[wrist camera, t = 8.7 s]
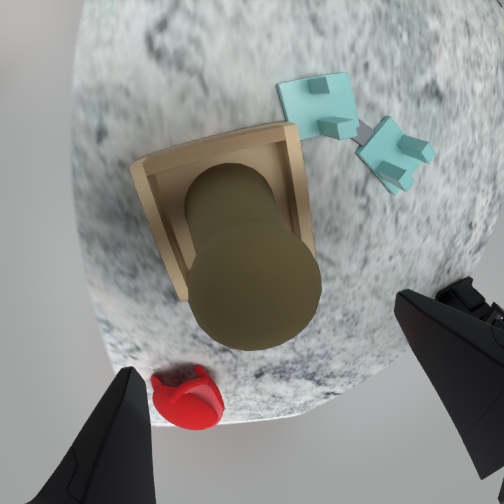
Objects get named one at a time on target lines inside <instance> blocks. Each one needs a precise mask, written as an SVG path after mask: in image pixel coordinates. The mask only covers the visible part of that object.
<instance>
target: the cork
mask: <svg viewBox="0 0 504 504" xmlns="http://www.w3.org/2000/svg"><path fill="white" fill-rule="evenodd" d="M185 216H186V220H187V224H188V227H189V231H190V235H191V238H192V242H193V246H194V249H195V253H196V257H195V259H194V261H193V264H192V267H191V269H190V272H189V275H188V302H189V305H190V307H191V310H192V312H193V314H194V317H195V319H196V321H197V323H198V325H199V326H200V327H201V328H202V329H203V330H204V331H205V332H206V333H207V334H208V335H209V336H210V337H211V338H213V339H214V340H215V341H216V342H218V343H220V344H223V345H225V346H227V347H229V348H232V349H238V350H244V351H254V350H265V349H268V348H272V347H275V346H279V345H281V344H283V343H285V342H286V341H288V340H290V339H292V338H294V337H295V336H296V335H298V334H299V333H300V332H301V331H302V330H303V329H304V328H305V327H307V325H308V324H309V322H310V321H311V319H312V318H313V316H314V315H315V313H316V310H317V306H318V303H319V299H320V296H321V292H322V286H321V275H320V270H319V266H318V264H317V262H316V260H315V258H314V256H313V254H312V253H311V251H310V249H309V248H308V247H307V245H306V244H305V243H304V242H303V241H302V240H301V239H299V238H298V237H297V236H296V235H294V234H293V233H292V232H291V231H289V230H287V229H285V228H284V225H283V222H282V219H281V216H280V213H279V210H278V207H277V204H276V201H275V198H274V195H273V192H272V189H271V187H270V186H269V184H268V182H267V181H266V179H265V177H264V176H262V175H261V174H260V173H259V172H258V171H256V170H255V169H254V168H251V167H249V166H246V165H244V164H241V163H222V164H219V165H215V166H211V167H210V168H208V169H207V170H205V171H204V172H202V173H201V174H199V175H198V176H197V177H196V179H195V180H194V181H193V182H192V184H191V185H190V186H189V189H188V192H187V194H186V197H185Z"/></svg>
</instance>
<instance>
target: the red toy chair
mask: <svg viewBox="0 0 504 504" xmlns="http://www.w3.org/2000/svg"><path fill="white" fill-rule="evenodd" d="M194 370H195V372H196V373H197V375H198V376H199V377H200V378H198V379H193V380H189V381H186V382H184V383H183V384H181V385H180V386H179V387H173V386H166V385H163V384H162V383H161V382H160V381H159V379H158V378H157V377H155V376H154V375H153V376H152V377H151V382H152V386H153V389H154V392H153V397H152V398H153V403H154V406H155V408H156V409H157V411H158V412H159V413H160V414H161V415H162V416H163V417H164V418H165V419H166V420H168V421H169V422H171V423H172V424H174V425H176V426H179V427H182V428H185V429H190V430H203V429H207V428H211V427H214V426H215V425H216V424H218V422H219V421H220V420H221V417H222V414H223V412H224V403H223V399H222V396H221V394H220V391H219V389H218V387H217V386H216V384H215V383H214V381H213V380H212V379H211V377H210V376H209V375H208V374H207V373H206V371H205V370H204V369H203V368H202V366H199V365H198V366H196V367H195V368H194Z"/></svg>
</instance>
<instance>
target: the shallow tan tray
mask: <svg viewBox="0 0 504 504" xmlns="http://www.w3.org/2000/svg"><path fill="white" fill-rule="evenodd" d="M222 163H241V164H244V165H246V166H249V167H251V168H254V169H255V170H256V171H258V172H259V173H260V174H261V175H262V176H264V177H265V179H266V181H267V182H268V184H269V186H270V187H271V189H272V192H273V195H274V198H275V201H276V204H277V207H278V210H279V213H280V216H281V219H282V222H283V225H284V228H285V229H287V230H289V231H291V232H292V233H293V234H294V235H296V236H297V237H298V238H299V239H301V240H302V241H303V242H304V243H305V244H306V245H307V247H308V248H309V249H310V251H311V253H312V254H313V256H314V258H315V248H314V239H313V230H312V222H311V214H310V206H309V198H308V191H307V184H306V177H305V170H304V163H303V157H302V150H301V144H300V138H299V132H298V127H297V124H295V123H291V122H286V121H278V122H273V123H268V124H263V125H258V126H253V127H248V128H244V129H239V130H235V131H231V132H226V133H222V134H218V135H214V136H210V137H206V138H203V139H199V140H195V141H192V142H188V143H185V144H181V145H178V146H175V147H171V148H168V149H165V150H162V151H158V152H155V153H152V154H149V155H146V156H143V157H140V158H138V159H137V160H136V161H135V162H134V163H133V164H132V165H131V166H130V167H129V169H130V172H131V175H132V178H133V181H134V184H135V187H136V190H137V193H138V196H139V199H140V201H141V204H142V207H143V210H144V213H145V215H146V218H147V221H148V223H149V226H150V229H151V231H152V234H153V236H154V239H155V242H156V244H157V247H158V249H159V252H160V254H161V257H162V259H163V262H164V264H165V266H166V269H167V271H168V274H169V276H170V278H171V281H172V283H173V285H174V288H175V290H176V292H177V295H178V297H179V299H180V301H181V302H184V301H188V275H189V272H190V269H191V267H192V264H193V261H194V259H195V257H196V253H195V249H194V246H193V242H192V238H191V235H190V231H189V227H188V224H187V220H186V216H185V197H186V194H187V192H188V189H189V186H190V185H191V184H192V182H193V181H194V180H195V179H196V177H197V176H198V175H199V174H201V173H202V172H204V171H205V170H207V169H208V168H210V167H211V166H215V165H219V164H222ZM315 260H316V258H315Z"/></svg>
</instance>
